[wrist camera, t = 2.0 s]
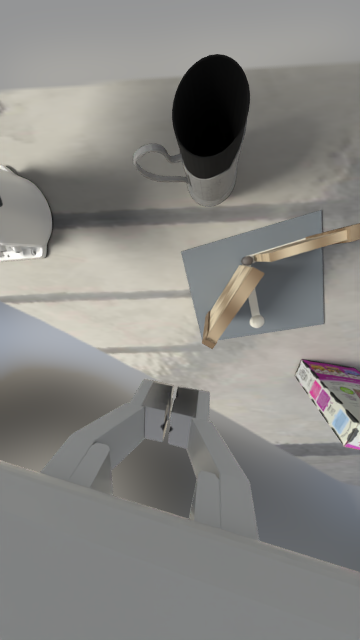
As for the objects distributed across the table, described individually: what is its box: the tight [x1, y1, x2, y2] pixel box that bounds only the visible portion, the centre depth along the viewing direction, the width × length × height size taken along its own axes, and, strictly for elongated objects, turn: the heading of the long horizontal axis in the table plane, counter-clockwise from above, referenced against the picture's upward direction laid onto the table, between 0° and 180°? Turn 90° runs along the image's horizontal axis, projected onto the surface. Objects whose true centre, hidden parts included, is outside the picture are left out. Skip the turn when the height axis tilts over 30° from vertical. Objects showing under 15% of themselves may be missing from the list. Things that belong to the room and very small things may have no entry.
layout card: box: [181, 210, 324, 340], centre depth 35 cm, size 25×21×1 cm
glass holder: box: [133, 54, 250, 207], centre depth 24 cm, size 9×14×15 cm, turn 103°
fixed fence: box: [241, 223, 360, 266], centre depth 27 cm, size 13×2×11 cm, turn 107°
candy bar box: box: [295, 360, 360, 450], centre depth 31 cm, size 11×5×16 cm, turn 85°
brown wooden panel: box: [202, 265, 265, 349], centre depth 30 cm, size 12×2×14 cm, turn 152°
